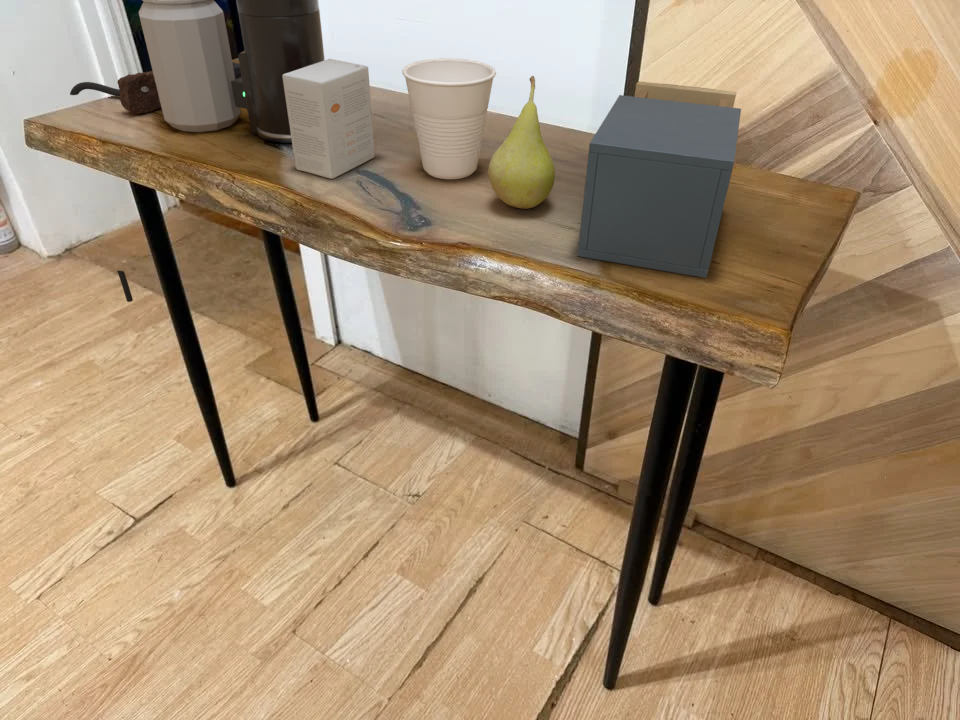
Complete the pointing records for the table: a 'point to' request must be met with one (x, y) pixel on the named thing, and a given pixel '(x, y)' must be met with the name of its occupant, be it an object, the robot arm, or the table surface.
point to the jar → (190, 63)
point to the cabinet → (658, 184)
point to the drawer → (685, 94)
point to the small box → (329, 117)
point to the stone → (139, 92)
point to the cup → (449, 112)
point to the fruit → (523, 162)
